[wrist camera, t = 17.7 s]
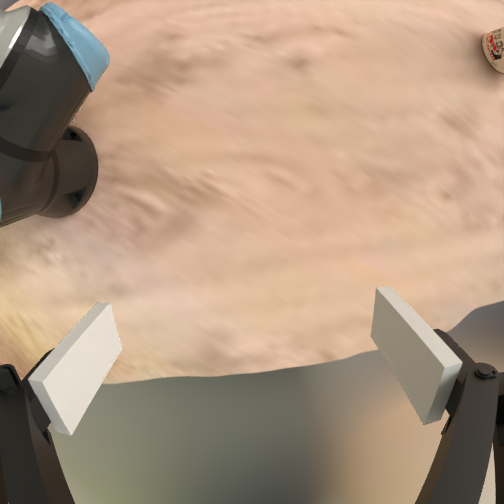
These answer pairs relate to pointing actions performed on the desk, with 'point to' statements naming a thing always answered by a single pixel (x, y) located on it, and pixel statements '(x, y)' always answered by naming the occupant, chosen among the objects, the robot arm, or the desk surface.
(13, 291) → the desk surface
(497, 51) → the teacup with lid
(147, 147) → the desk surface
